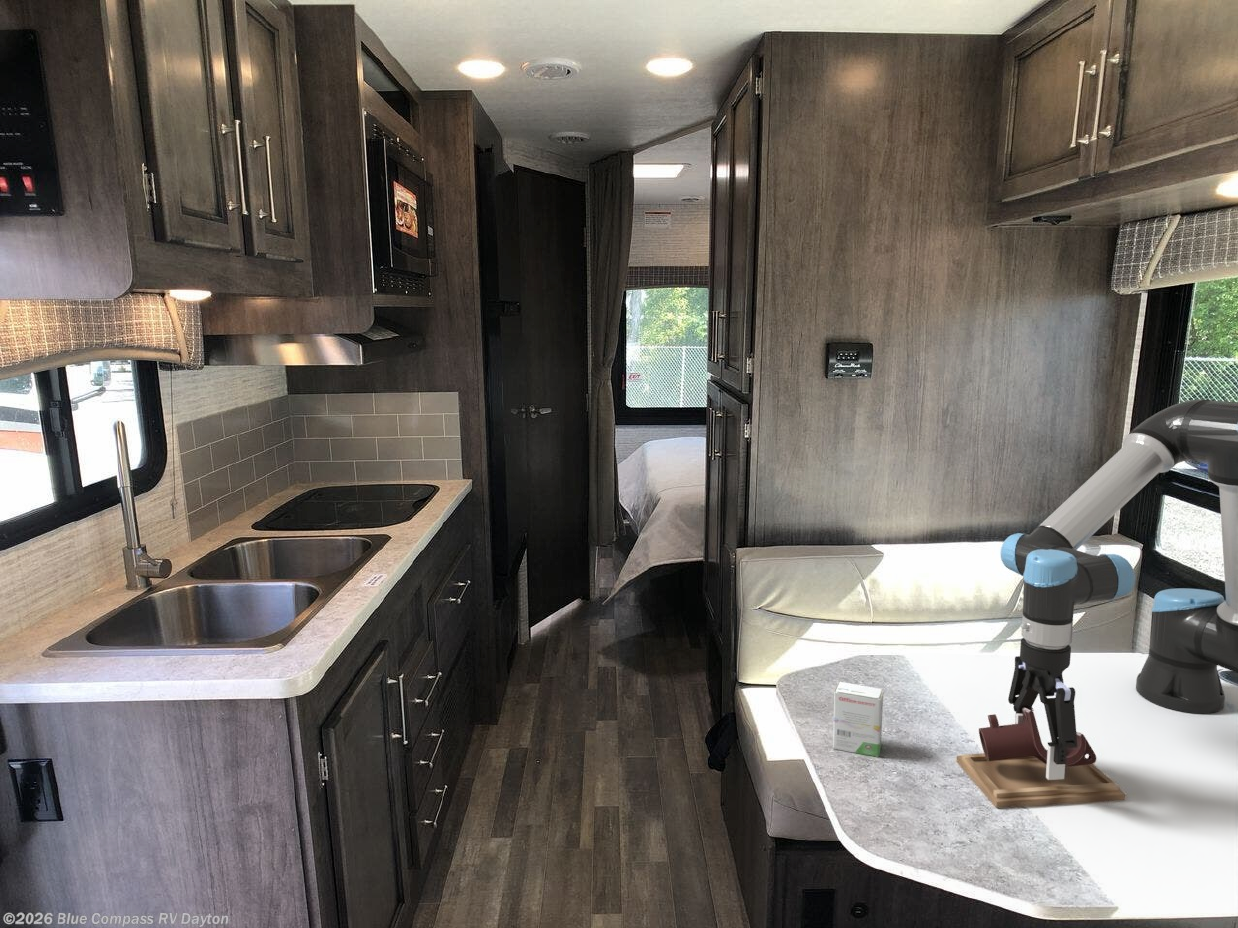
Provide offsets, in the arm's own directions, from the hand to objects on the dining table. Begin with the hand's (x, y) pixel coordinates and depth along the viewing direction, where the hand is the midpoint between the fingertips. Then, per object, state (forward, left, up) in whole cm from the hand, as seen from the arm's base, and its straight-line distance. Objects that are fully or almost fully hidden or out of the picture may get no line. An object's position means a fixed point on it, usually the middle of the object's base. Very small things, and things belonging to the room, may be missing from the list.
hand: (1038, 762), depth 136 cm
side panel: (0, 0, -3) cm, 3 cm away
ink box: (+27, -14, -4) cm, 31 cm away
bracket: (0, -1, 0) cm, 1 cm away
